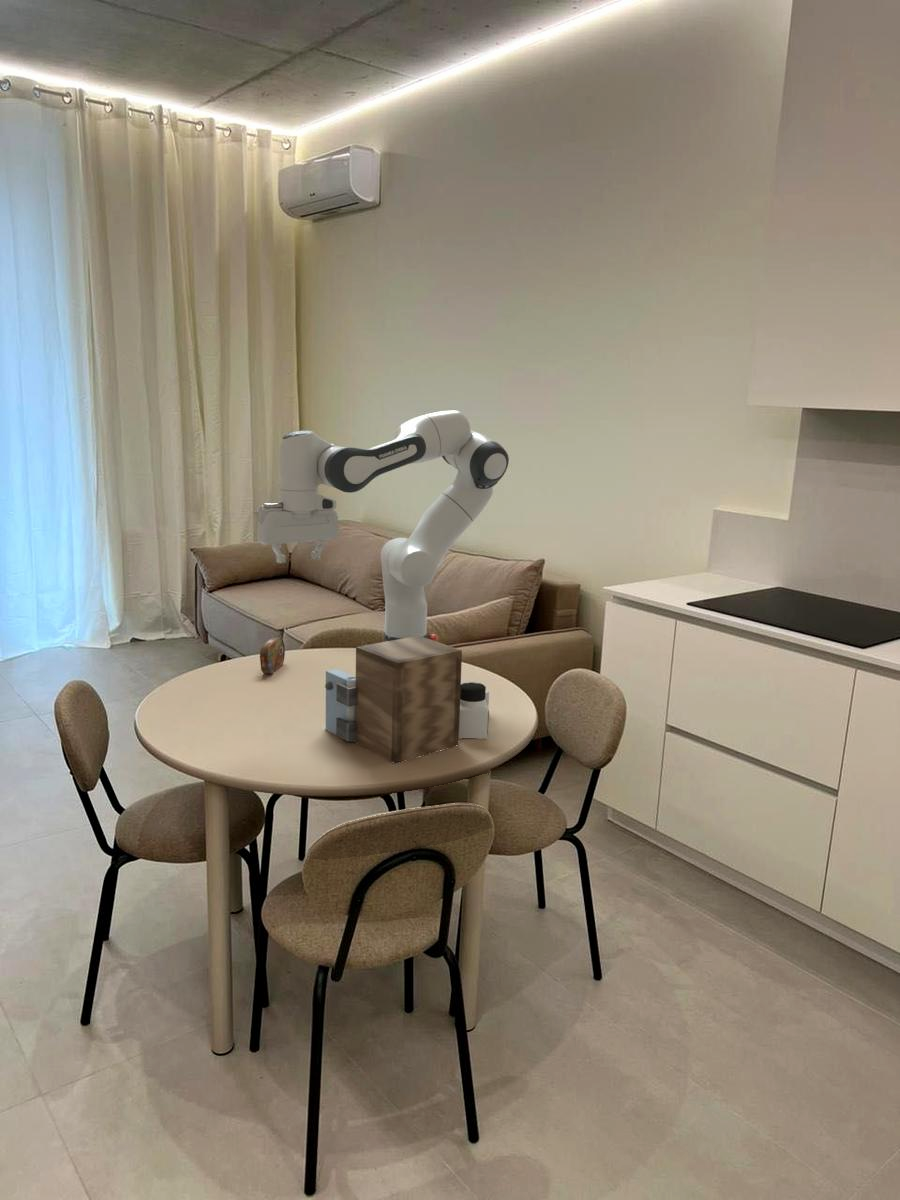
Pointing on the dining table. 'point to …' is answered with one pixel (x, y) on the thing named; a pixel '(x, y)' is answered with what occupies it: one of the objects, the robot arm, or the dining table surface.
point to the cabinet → (404, 698)
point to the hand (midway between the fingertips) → (298, 560)
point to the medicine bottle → (473, 711)
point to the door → (333, 706)
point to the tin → (272, 655)
